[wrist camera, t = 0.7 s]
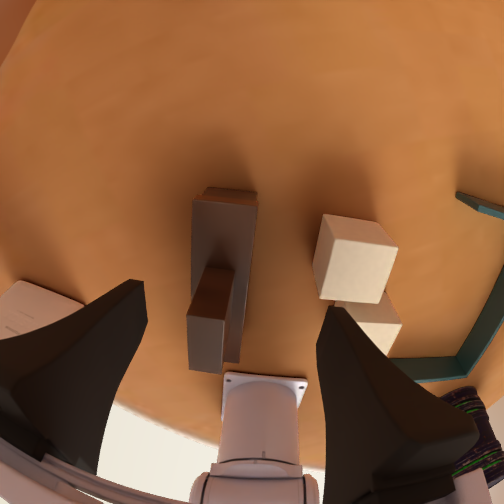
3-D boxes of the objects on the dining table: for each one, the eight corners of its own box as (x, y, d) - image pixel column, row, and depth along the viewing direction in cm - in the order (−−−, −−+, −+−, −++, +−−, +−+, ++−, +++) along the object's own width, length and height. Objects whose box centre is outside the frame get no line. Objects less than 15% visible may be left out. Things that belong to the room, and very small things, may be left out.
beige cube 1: (370, 330, 23) (382, 363, 20) (326, 327, 23) (333, 363, 20) (386, 291, 21) (402, 324, 18) (339, 287, 21) (350, 321, 18)
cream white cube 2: (363, 272, 21) (378, 304, 17) (311, 266, 21) (319, 299, 17) (377, 221, 19) (399, 247, 15) (322, 213, 19) (334, 238, 15)
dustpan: (492, 355, 25) (502, 371, 22) (387, 361, 25) (395, 384, 22) (554, 228, 17) (571, 240, 14) (456, 191, 17) (479, 204, 15)
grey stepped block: (242, 332, 24) (232, 413, 17) (201, 327, 24) (178, 405, 17) (260, 189, 18) (253, 242, 11) (205, 183, 18) (164, 232, 11)
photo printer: (92, 302, 24) (22, 405, 13) (96, 335, 26) (41, 432, 15) (16, 272, 23) (-56, 346, 12) (24, 304, 25) (-37, 377, 14)
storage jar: (480, 398, 29) (511, 474, 16) (428, 432, 33) (448, 509, 19) (470, 376, 26) (510, 469, 13) (407, 416, 30) (431, 512, 17)
